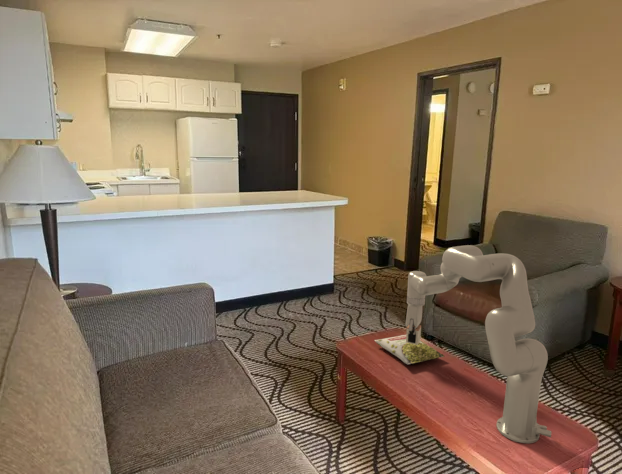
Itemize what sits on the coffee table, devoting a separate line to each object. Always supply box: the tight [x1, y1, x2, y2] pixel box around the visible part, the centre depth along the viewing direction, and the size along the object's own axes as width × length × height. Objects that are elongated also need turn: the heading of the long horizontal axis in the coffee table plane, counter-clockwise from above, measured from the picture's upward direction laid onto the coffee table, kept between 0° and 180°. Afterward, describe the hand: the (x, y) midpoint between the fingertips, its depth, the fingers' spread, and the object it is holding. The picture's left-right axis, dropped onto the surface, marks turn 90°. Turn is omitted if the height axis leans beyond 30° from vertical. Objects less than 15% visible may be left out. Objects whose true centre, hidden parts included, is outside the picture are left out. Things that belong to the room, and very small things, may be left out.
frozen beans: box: [374, 334, 445, 365], centre depth 189 cm, size 21×6×25 cm
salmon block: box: [405, 324, 422, 345], centre depth 183 cm, size 5×5×7 cm
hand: (413, 339), depth 184 cm, fingers closed on salmon block, 4 cm apart
